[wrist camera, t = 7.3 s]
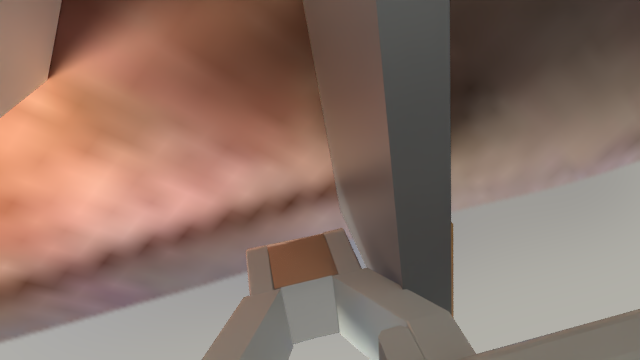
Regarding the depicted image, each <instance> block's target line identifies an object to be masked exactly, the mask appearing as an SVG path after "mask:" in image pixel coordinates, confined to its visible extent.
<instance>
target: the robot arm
mask: <svg viewBox="0 0 640 360" xmlns="http://www.w3.org/2000/svg"><path fill="white" fill-rule="evenodd" d="M246 260H247V270H248V280H249V291H250V296H247V297H244V298H243V299H242V301H241V303H240V304H239V305H238V307H237V308H236V310H235V311H234V313H233V314H232V316H231V317H230V319H229V320H228V322H227V323H226V325H225V326H224V328H223V329H222V331H221V332H220V334H219V335H218V336H217V338H216V339H215V341H214V342H213V344H212V345H211V347H210V348H209V350H208V351H207V353H206V354H205V356H204V357H203V359H202V360H288V359H289V356H290V354H291V351H292V349H293V344H296V343H299V342H303V341H306V340H310V339H313V338H317V337H321V336H326V335H330V334H335V333H339V332H340V334H341V335H342V336H343V337H344V338H345V339H346V340H348V341H349V342H350V343H351V344H352V345H353V346H355V347H356V348H357V349H358V350H359V351H360V352H361V353H363V354H364V355H365V356H366V357H367V358H369V359H370V360H640V309H638V310H634V311H630V312H627V313H623V314H620V315H616V316H612V317H609V318H605V319H601V320H598V321H594V322H591V323H587V324H583V325H580V326H576V327H573V328H569V329H566V330H562V331H558V332H555V333H551V334H547V335H544V336H540V337H537V338H533V339H529V340H526V341H522V342H518V343H515V344H512V345H508V346H504V347H500V348H497V349H493V350H490V351H486V352H482V353H479V354H476V353H475V351H474V350H473V348H472V347H471V345H470V344H469V343H468V340H467V339H466V337H465V336H464V334H463V333H462V331H461V329H460V328H459V326H458V325H457V323H456V322H455V320H454V319H453V317H452V315H451V314H450V312H449V311H447V310H445V309H443V308H441V307H440V306H438V305H436V304H434V303H432V302H430V301H428V300H427V299H425V298H423V297H421V296H419V295H417V294H415V293H414V292H412V291H410V290H408V289H404V290H403V289H402V287H401V286H400V285H399V284H397V283H395V282H393V281H391V280H389V279H388V278H386V277H384V276H382V275H380V274H378V273H376V272H375V271H373V270H371V269H369V268H364V269H362V268H361V266H360V264H359V262H358V259H357V257H356V255H355V253H354V251H353V249H352V247H351V244H350V242H349V240H348V238H347V236H346V233H345V231H344V230H343V229H342V228H340V229H336V230H332V231H328V232H324V233H323V234H318V235H314V236H309V237H304V238H299V239H294V240H289V241H284V242H279V243H274V244H269V245H267V246H266V245H265V246H260V247H256V248H251V249H247V250H246Z"/></svg>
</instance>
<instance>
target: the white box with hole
mask: <svg viewBox="0 0 640 360" xmlns="http://www.w3.org/2000/svg"><path fill="white" fill-rule="evenodd" d="M61 3H62V0H0V118H1V117H2V116H3V115H4V114H6V113H7V112H8V111H9V110H11V109H12V108H13V107H14V106H16V105H17V104H18V103H19V102H21V101H22V100H23V99H25V98H26V97H27V96H28V95H30V94H31V93H32V92H33V91H35V90H36V89H37V88H38V87H40V86H41V85H42V84H43V83H45V82H46V81H47V79H48V74H49V68H50V63H51V57H52V52H53V46H54V41H55V35H56V30H57V24H58V19H59V14H60V8H61Z"/></svg>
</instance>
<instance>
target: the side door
mask: <svg viewBox="0 0 640 360" xmlns="http://www.w3.org/2000/svg"><path fill="white" fill-rule="evenodd" d="M303 6H304V11H305V17H306V22H307V28H308V33H309V39H310V45H311V50H312V56H313V61H314V67H315V72H316V78H317V84H318V89H319V95H320V100H321V106H322V112H323V117H324V123H325V128H326V134H327V139H328V145H329V151H330V156H331V162H332V167H333V173H334V178H335V184H336V190H337V195H338V201H339V206H340V211H341V213H342V215H343V218H344V220H345V222H346V224H347V226H348V228H349V231H350V233H351V235H352V237H353V239H354V241H355V243H356V245H357V248H358V250H359V252H360V254H361V256H362V259H363V261H364V263H365V265H366V267H367V268H369V269H371V270H373V271H375V272H376V273H378V274H380V275H382V276H384V277H386V278H388V279H389V280H391V281H393V282H395V283H397V284H399V285H400V286H401V287H402V289H403V290H404V289H408V290H410V291H412V292H414V293H415V294H417V295H419V296H421V297H423V298H425V299H427V300H428V301H430V302H432V303H434V304H436V305H438V306H440V307H441V308H443V309H445V310H447V311H449V312H450V314H451V315H452V317H453V224H452V222H451V137H450V0H303Z"/></svg>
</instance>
